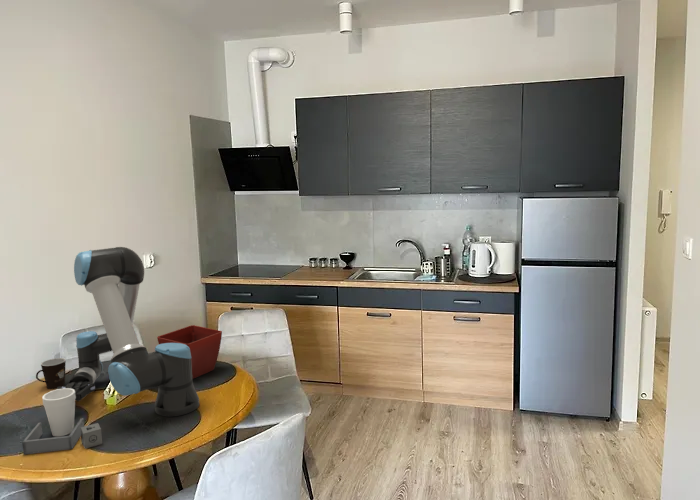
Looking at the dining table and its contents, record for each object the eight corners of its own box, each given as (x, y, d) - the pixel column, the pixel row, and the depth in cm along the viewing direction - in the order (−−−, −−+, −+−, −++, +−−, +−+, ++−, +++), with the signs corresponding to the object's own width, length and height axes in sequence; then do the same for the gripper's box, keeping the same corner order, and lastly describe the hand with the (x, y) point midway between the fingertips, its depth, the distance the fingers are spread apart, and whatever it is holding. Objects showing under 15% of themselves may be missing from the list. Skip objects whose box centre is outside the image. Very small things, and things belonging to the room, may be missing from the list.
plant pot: (190, 384, 210) (186, 343, 208) (159, 375, 221) (155, 336, 218) (225, 369, 226) (223, 330, 224) (195, 361, 236) (192, 324, 234)
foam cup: (85, 428, 175) (81, 391, 173) (57, 441, 167) (53, 402, 165) (67, 422, 180) (63, 386, 178) (40, 434, 172) (36, 396, 170)
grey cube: (82, 442, 167) (80, 427, 166) (99, 437, 169) (98, 422, 169) (84, 448, 163) (83, 433, 162) (102, 443, 165) (101, 428, 165)
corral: (84, 429, 175) (83, 418, 174) (72, 449, 162) (70, 436, 162) (39, 434, 172) (38, 422, 172) (23, 454, 160) (22, 442, 159)
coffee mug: (64, 379, 218) (61, 356, 217) (71, 385, 212) (68, 361, 211) (32, 388, 210) (29, 364, 209) (38, 394, 204) (35, 369, 203)
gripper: (102, 388, 202) (83, 416, 179) (65, 392, 200) (41, 420, 177) (100, 369, 201) (80, 395, 178) (62, 373, 198) (38, 399, 175)
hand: (61, 407), depth 177 cm, fingers closed
